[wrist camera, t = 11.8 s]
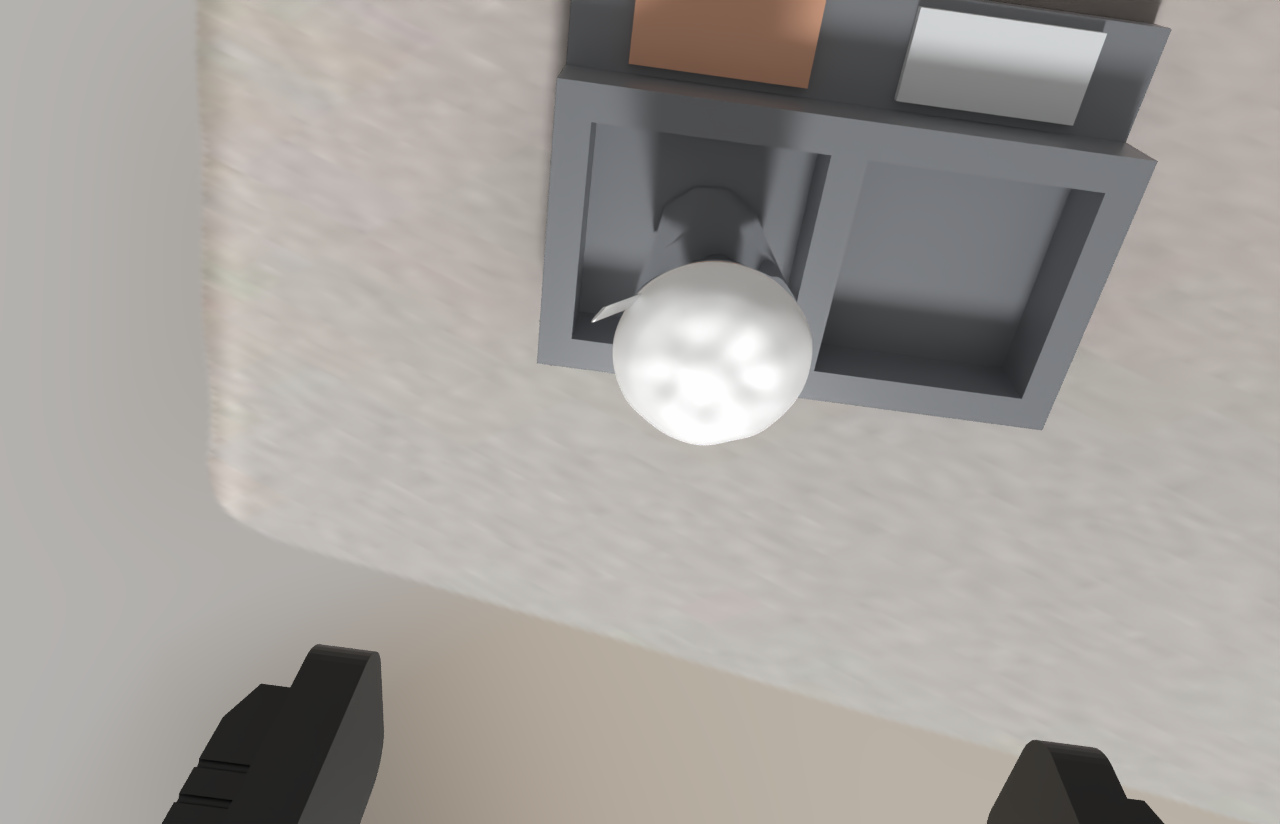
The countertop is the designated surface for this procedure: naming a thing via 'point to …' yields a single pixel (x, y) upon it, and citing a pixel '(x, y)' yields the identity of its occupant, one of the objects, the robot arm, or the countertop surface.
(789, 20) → the dock
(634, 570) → the countertop surface
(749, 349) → the milkshake
